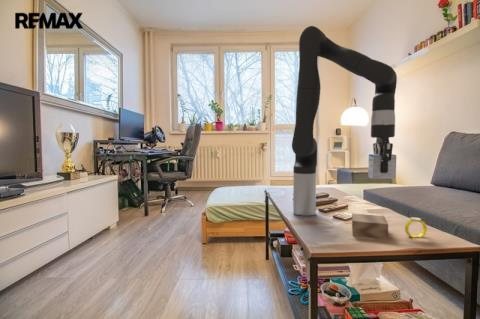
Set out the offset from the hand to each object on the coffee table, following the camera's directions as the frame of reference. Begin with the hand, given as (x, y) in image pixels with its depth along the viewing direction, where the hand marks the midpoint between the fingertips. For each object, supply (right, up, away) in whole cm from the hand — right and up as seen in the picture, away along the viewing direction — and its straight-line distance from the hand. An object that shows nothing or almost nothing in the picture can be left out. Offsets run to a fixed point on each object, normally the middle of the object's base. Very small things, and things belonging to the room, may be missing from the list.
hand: (381, 171), depth 97 cm
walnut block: (-8, -20, -7) cm, 23 cm away
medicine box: (0, -3, 0) cm, 3 cm away
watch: (+4, -20, -12) cm, 24 cm away
